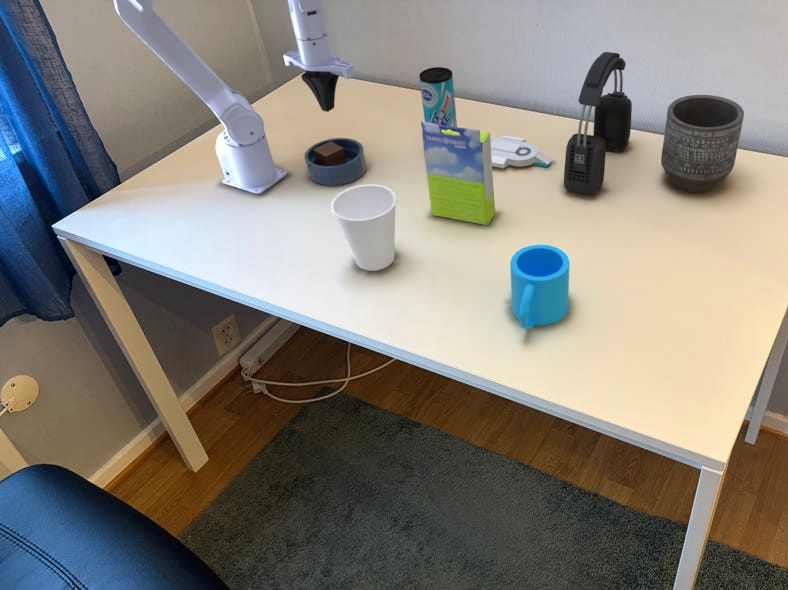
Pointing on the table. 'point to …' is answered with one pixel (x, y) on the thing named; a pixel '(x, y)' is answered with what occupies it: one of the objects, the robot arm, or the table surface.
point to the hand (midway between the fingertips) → (328, 108)
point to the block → (329, 155)
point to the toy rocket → (515, 153)
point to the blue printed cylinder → (438, 96)
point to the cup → (368, 224)
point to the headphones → (598, 127)
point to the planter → (701, 141)
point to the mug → (539, 285)
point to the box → (459, 172)
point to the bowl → (340, 172)
